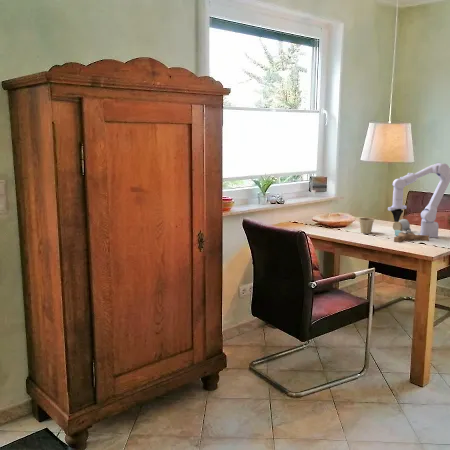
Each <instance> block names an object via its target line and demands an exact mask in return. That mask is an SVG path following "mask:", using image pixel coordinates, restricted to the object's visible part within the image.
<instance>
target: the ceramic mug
mask: <svg viewBox="0 0 450 450" xmlns="http://www.w3.org/2000/svg"><path fill="white" fill-rule="evenodd" d="M410 226H411V224H410V222H409V220H408V219H406V218H402V219H399V222H394V221H393V223H392V229H393V231H395V230H400V231H405V232H408V233H412V229H411V227H410Z"/></svg>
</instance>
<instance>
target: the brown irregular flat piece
mask: <svg viewBox="0 0 450 450" xmlns="http://www.w3.org/2000/svg"><path fill="white" fill-rule="evenodd" d="M429 239H430V237H429V235H417V234H415V233H413V232H410V233H408V234H405V233H403V232H401V233H399V234H398V236H397V235H395V236H394V237H393V242H395V243H400V242H403V241H410V242H411V241H424V242H425V241H426V242H427V241H428V242H429V241H430V240H429Z"/></svg>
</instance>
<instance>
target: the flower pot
mask: <svg viewBox="0 0 450 450" xmlns="http://www.w3.org/2000/svg"><path fill="white" fill-rule="evenodd" d="M358 221H359V228H360V233H361V234H371V233H372V230H373V225H374V224H373V223H374V221H375V219H374V218H373V217H372V218H371V217H359V218H358Z"/></svg>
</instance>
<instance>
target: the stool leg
mask: <svg viewBox="0 0 450 450" xmlns="http://www.w3.org/2000/svg"><path fill="white" fill-rule="evenodd" d="M401 232H403V233H405V234H408V232H405V231H400V230H394V235H395V236H398V234H399V233H401Z"/></svg>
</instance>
